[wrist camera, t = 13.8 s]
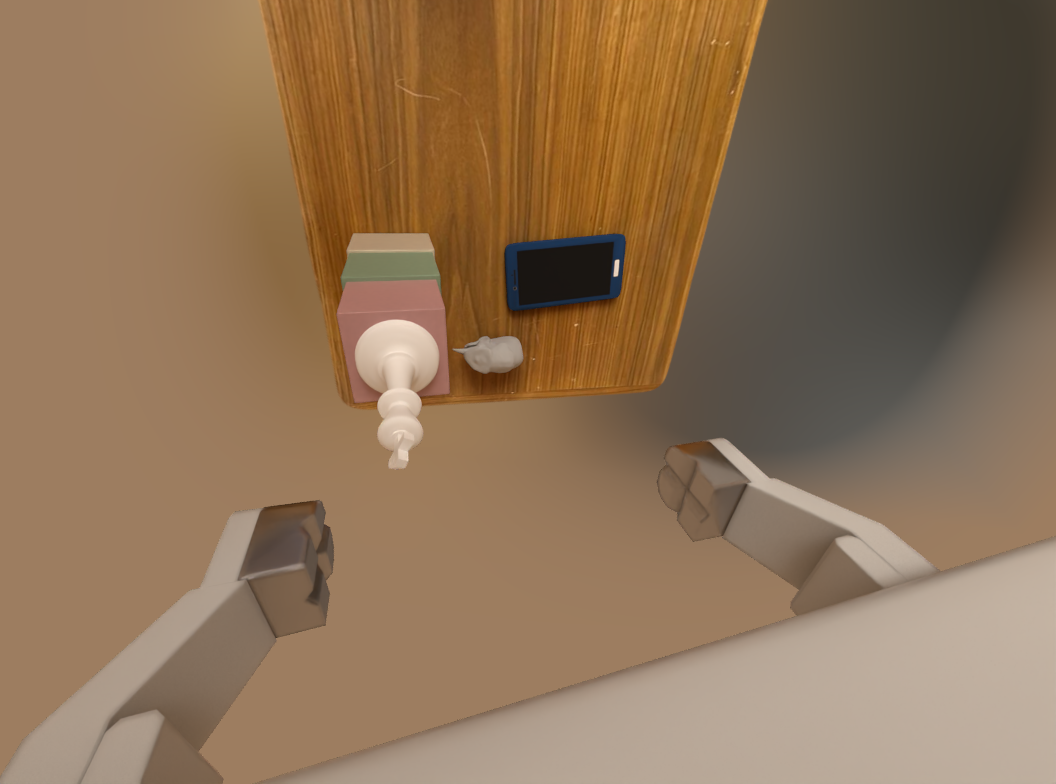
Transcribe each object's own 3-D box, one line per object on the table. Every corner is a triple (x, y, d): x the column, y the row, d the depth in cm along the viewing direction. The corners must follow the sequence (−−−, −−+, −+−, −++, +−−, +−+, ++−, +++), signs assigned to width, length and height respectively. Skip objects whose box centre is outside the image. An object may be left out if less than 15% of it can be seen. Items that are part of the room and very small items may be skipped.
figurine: (513, 361, 51) (523, 380, 47) (448, 358, 48) (453, 378, 44) (518, 332, 49) (530, 350, 45) (451, 328, 46) (457, 346, 42)
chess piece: (452, 338, 25) (480, 434, 17) (419, 401, 27) (431, 515, 19) (373, 305, 23) (363, 398, 15) (342, 375, 25) (318, 494, 17)
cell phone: (618, 295, 50) (621, 297, 49) (507, 310, 47) (508, 312, 46) (624, 232, 46) (627, 233, 45) (503, 243, 43) (505, 245, 42)
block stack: (352, 233, 39) (324, 305, 22) (428, 233, 40) (453, 299, 24) (364, 304, 42) (347, 410, 26) (433, 301, 44) (457, 399, 28)
